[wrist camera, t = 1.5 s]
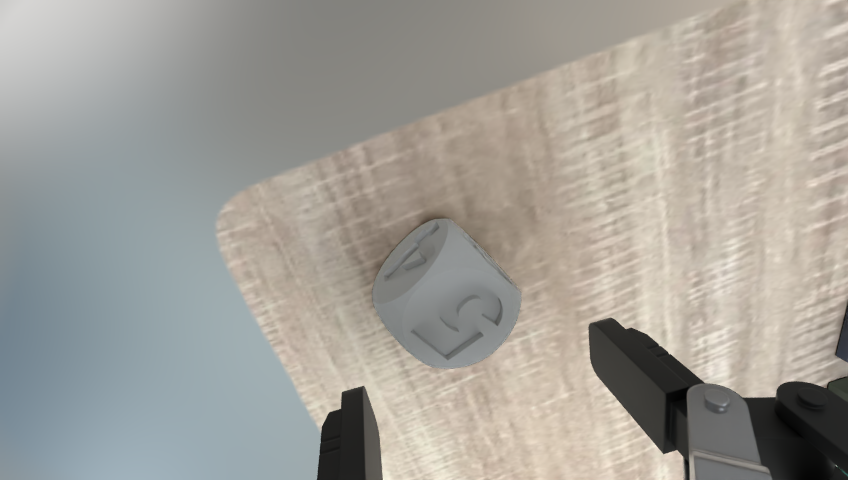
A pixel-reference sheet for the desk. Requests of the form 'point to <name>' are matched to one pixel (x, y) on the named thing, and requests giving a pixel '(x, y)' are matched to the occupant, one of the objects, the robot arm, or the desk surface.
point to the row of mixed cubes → (844, 387)
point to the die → (445, 297)
